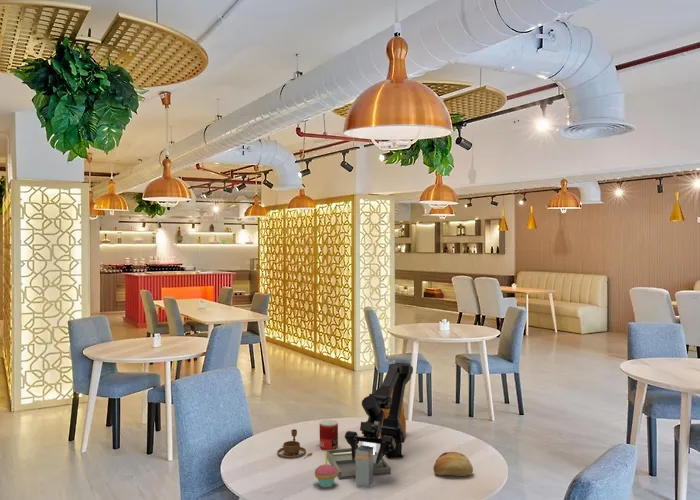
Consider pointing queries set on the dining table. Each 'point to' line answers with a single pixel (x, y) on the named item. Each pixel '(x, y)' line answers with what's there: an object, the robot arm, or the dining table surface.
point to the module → (364, 466)
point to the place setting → (292, 448)
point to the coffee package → (402, 417)
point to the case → (353, 463)
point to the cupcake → (326, 474)
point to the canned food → (328, 434)
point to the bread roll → (453, 464)
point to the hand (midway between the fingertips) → (364, 461)
